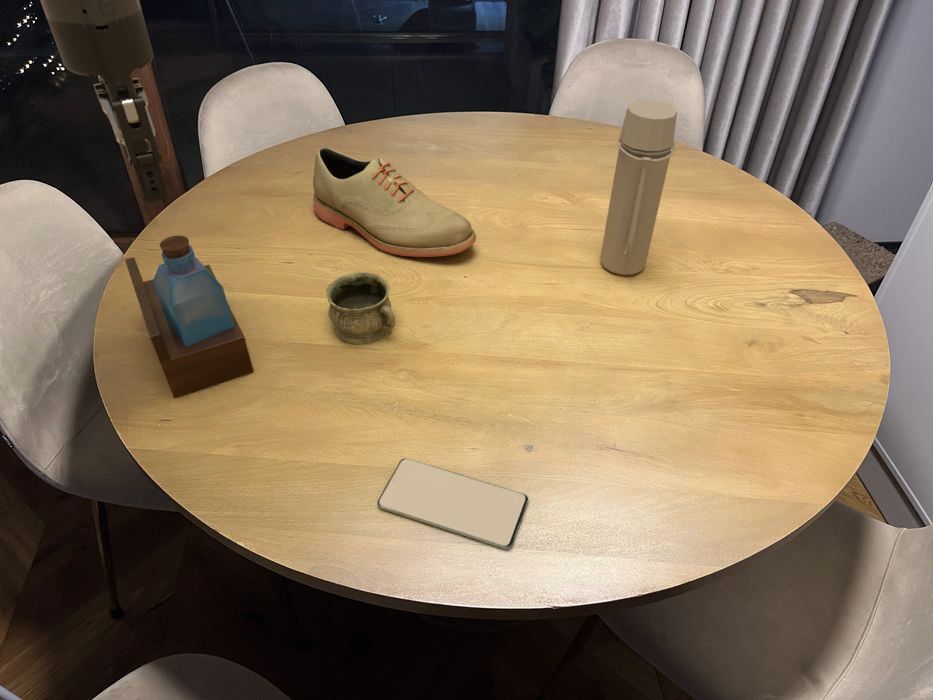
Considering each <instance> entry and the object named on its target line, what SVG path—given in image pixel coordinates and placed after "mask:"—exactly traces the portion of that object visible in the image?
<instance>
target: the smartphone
mask: <svg viewBox="0 0 933 700" xmlns="http://www.w3.org/2000/svg"><path fill="white" fill-rule="evenodd" d="M528 503H529V497H528V495H527V494H525V493H523V492H519V491H517V490H514V489H510V488H508V487H507V488H506V487H503V486H500V485H497V484H493V483H490V482H487V481H483V480H480V479H477V478H473V477H470V476H466V475H463V474H460V473H456V472H453V471H450V470H446V469H444V468H441V467H437V466H434V465H430V464H428V463H423V462H421V461H417V460H414V459H410V458H407V457H404V458H402V459H400V460H399V462H398V464H397V466H396V468H395V469H394V471H393V473H392V474H391V476H390V478H389V480H388V481H387V483H386V485H385V486H384V489H383V491H382V492H381V494H380V496H379V498H378V499H377V506H378V508H380V509H382V510H385V511H388V512H391V513H394V514H396V515H400V516H403V517H406V518H409V519H412V520H416V521H418V522H421V523H424V524H428V525H431V526H434V527H437V528H439V529H443V530H446V531H449V532H452V533H455V534H459V535H461V536H465V537H468V538H470V539H473V540H477V541H480V542H483V543H485V544H489V545H492V546H496V547H498V548H501V549H505V550H506V549H507V550H508V549H510V548H512V546H513V545H514V542H515V539H516V535H517V533H518V531H519V527H520V525H521V522H522V519H523V517H524V515H525V512H526V509H527V506H528Z"/></svg>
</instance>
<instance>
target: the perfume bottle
mask: <svg viewBox="0 0 933 700" xmlns="http://www.w3.org/2000/svg"><path fill="white" fill-rule="evenodd" d="M159 247H160V249H161V258H162V261H163V263H161V264H159V265H158V266H157V269H156V271H155V275H154V277H153V284H154V287H155V289H156V292H157V295H158V298H159V300H160V303H161V306H162V309H163V311H164V314H165V317H166V320H167V322H168V323H169V325H170V326H171V327H172V329H173V330H174V331H175V333H176V334H177V335H178V337H179V338H180V339H181V341H182V342H183V343H184V345H185V346H186V347H187V346H189V345H191V344H194V343H196V342H199V341H201V340H204V339H206V338H208V337H211V336H213V335H216V334H218V333H220V332H223V331H225V330H228V329H230V328H232V327H234V324H233V321H232V317H231V314H230V310H229V307H228V304H229V302H228V299H227V296H226V293H225V288H224V286H223V285H222V284H221V283H220V282H219V280H217V277H216V276H215V277H214V276H213V275H212V274H211V273H210V272H209V271H208V270H207V268H206V267H205V265H204V264H203V263H202V262H201V261H200V260H199V259H198V258H197V257H196V255H195V252H194V248H193V246H192V245H190V240H189V238H188V237H187V236H185V235H177V234H176V235H172V236H171V235H170V236H168V237H166V238H164V239H162V240H161V241H160V243H159ZM227 302H228V303H227Z"/></svg>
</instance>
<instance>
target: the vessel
mask: <svg viewBox="0 0 933 700" xmlns="http://www.w3.org/2000/svg"><path fill="white" fill-rule="evenodd" d="M390 290H391V289H390V284H389V282H388V280H387V279H386V278H384V277H383V276H381V275H380V274H377V273H373V272H367V271H366V272H365V271H358V272H352V273H347V274H343V275H341V276H339V277H337V278H335V279H333V281H331V283H329V284H328V286H327V287H326V291H325V292H326V299H327V301H328V303H329V307H328V317H329V319H330V322H331V324H332V325H333V326H334V327H335V332H336V334H337V337H338V338H340V339H341V340H342V341H344V342H347V343H351V344H357V345H358V344H359V345H365V344H369V343H373V342H376V341H379V340H380V339H382V338H383V337H384V336H385V335H386V336H392V333H393V332H392V331H393V329H394V328H395V326H396V317H395V315H394V313H393V311H392V302H391V300H390V297H389V295H390ZM389 322H390V323H389Z"/></svg>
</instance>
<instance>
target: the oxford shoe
mask: <svg viewBox="0 0 933 700" xmlns="http://www.w3.org/2000/svg"><path fill="white" fill-rule="evenodd" d="M313 168H314V170H313V177H312V187H313V192H314V193H313V200H312V203H313V205H312V206H313V211H314V214H315V215H316V216H317V217H318V218H319V219H321V220H322V221H324V222H326V223H327V224H329V225H331V226H333V227H336V228H338V229H340V230H345V229H349V227H352V229H354V230H356V231H357V232H358V233H359V234H360V235H361V236H363V237H364V238H365V239H366V240H367V241H368V242H369V243H370V244H372V245H373V246H374V247H376V248H377V249H379V250H381V251H382V252H385V253H388V254H391V255H396V256H403V257H410V258H411V257H412V258H413V257H414V258H431V257H432V258H434V257H443V256H444V257H445V256H452V255H456V254H459V253H461V252H465V251H467V250H468V249H469V248H470V247H472V246H473V245H474V244H475V243H476V241H477V235H476V232H475V230H474V229H473V228H472V225H471V222H470V221H469V220H468V218H466V217H465V216H464V215H462V214H460V213H458V212H457V211H454V210H452V209H450V208H448V207H446V206H444V205H441V204H439V203H438V202H437V201H434V200H433V199H431V198H430V197H428V196H427V195H426V194H425V193H424V192H423V191H421V189H418V188H417V187H416V186H415V185H414V184H413V183H412V182H410V181H409V180H408V179H407V178H406V177H405V176H404V175H403V174H402V173H400V172H399V171H398V170H397V169H396V168H394V167H393V165H391V163H390V162H388V161H387V160H386V159H385V158H383V157H379V158H374V159H373V160H361V159H357V158H355V157H352V156H349V155H347V154H344V153H342V152H340V151H337V150H334V149H332V148H329V147H321V148H319V149H318V150H317V152H316V154H315V159H314V167H313Z"/></svg>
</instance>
